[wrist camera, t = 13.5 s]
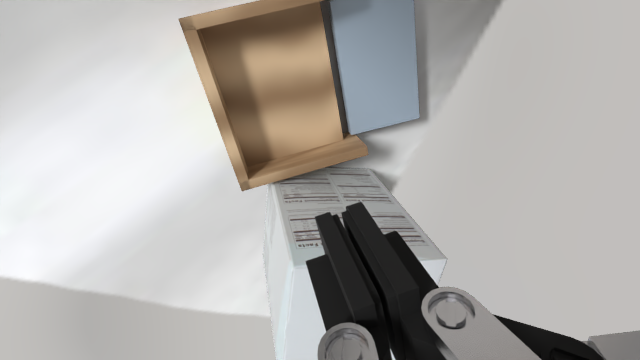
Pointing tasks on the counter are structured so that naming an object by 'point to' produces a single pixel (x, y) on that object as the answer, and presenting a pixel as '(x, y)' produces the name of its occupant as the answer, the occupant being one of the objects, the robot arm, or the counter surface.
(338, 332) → the robot arm
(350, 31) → the panel
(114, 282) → the counter surface
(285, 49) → the crate
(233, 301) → the counter surface
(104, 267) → the counter surface
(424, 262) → the supplement box
